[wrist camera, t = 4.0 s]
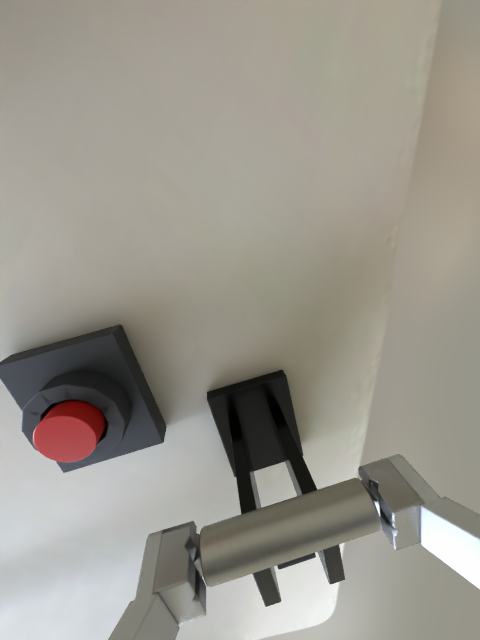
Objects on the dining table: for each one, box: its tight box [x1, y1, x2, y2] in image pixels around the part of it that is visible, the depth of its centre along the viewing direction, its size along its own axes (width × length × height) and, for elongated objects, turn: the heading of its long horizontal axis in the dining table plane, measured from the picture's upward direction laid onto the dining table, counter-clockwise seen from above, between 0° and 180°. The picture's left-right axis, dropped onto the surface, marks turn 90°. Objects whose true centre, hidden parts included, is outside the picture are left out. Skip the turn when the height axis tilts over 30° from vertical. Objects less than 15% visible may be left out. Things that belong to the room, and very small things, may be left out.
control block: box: [0, 325, 166, 473], centre depth 21 cm, size 11×9×4 cm
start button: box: [33, 400, 105, 462], centre depth 18 cm, size 4×4×2 cm
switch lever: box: [199, 478, 382, 587], centre depth 12 cm, size 13×6×2 cm, turn 14°
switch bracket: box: [207, 370, 345, 607], centre depth 20 cm, size 10×8×12 cm
